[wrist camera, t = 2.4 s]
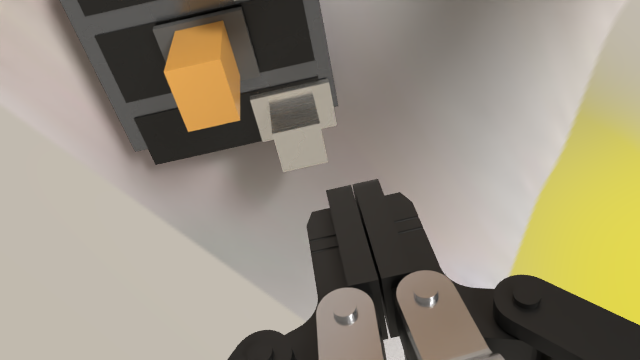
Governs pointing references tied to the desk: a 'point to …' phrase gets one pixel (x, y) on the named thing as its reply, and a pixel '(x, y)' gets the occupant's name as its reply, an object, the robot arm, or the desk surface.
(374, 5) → the desk surface
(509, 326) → the robot arm
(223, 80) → the orange rectangular block
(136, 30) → the panel
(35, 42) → the desk surface
